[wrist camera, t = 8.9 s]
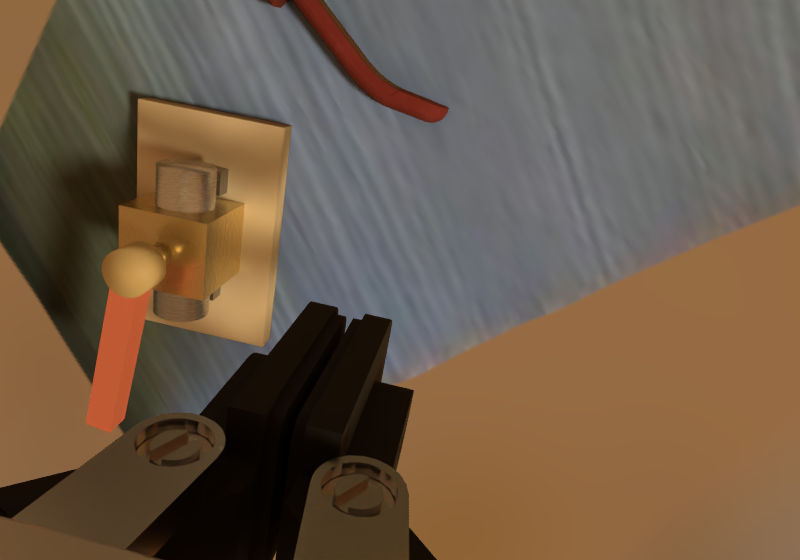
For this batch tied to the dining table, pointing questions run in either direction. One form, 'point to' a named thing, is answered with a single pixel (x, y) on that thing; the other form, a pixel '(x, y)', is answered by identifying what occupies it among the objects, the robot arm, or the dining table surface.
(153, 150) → the mounting board
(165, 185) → the valve body
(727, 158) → the dining table surface
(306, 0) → the pliers
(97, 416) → the valve lever
